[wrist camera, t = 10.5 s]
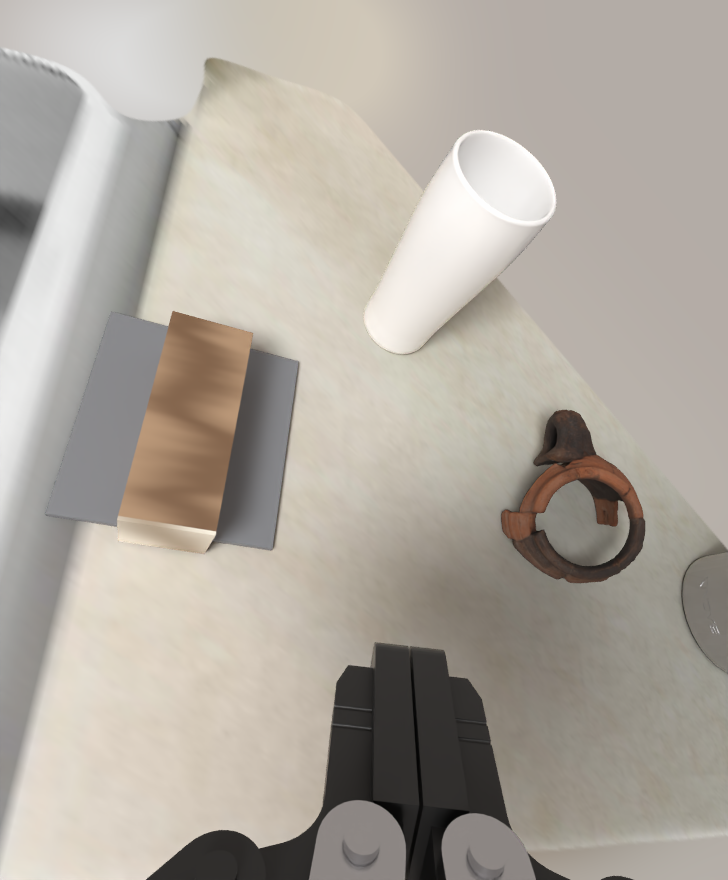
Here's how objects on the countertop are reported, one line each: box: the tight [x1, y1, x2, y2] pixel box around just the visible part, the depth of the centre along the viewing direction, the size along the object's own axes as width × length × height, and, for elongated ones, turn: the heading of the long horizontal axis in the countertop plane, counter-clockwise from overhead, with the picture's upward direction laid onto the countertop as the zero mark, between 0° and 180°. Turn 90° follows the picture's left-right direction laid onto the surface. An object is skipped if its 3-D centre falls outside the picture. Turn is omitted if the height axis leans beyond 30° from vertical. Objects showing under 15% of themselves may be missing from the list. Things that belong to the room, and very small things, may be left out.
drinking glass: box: [364, 130, 556, 354], centre depth 36 cm, size 7×7×15 cm
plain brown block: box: [117, 311, 253, 554], centre depth 31 cm, size 4×4×12 cm
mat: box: [45, 311, 299, 550], centre depth 33 cm, size 12×13×1 cm
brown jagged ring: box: [501, 410, 645, 583], centre depth 39 cm, size 12×10×8 cm
